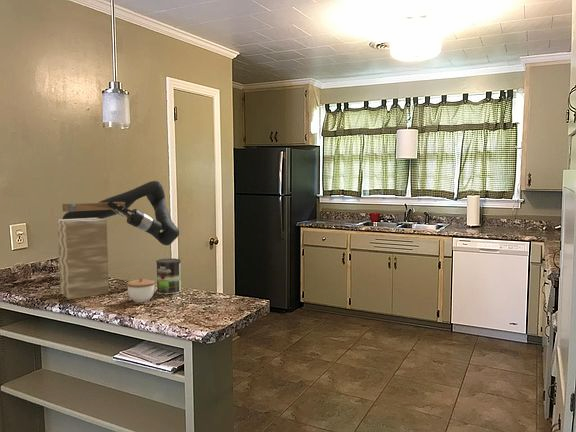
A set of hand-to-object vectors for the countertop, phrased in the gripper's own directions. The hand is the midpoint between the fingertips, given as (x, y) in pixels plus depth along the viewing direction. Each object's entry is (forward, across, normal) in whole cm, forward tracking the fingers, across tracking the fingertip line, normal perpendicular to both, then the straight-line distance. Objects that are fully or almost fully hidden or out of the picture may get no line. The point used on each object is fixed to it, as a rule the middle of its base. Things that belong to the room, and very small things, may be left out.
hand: (106, 203), depth 207 cm
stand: (-10, 0, +39) cm, 40 cm away
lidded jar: (-22, +28, +32) cm, 48 cm away
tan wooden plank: (+3, 0, +5) cm, 6 cm away
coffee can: (-35, +22, +25) cm, 48 cm away
